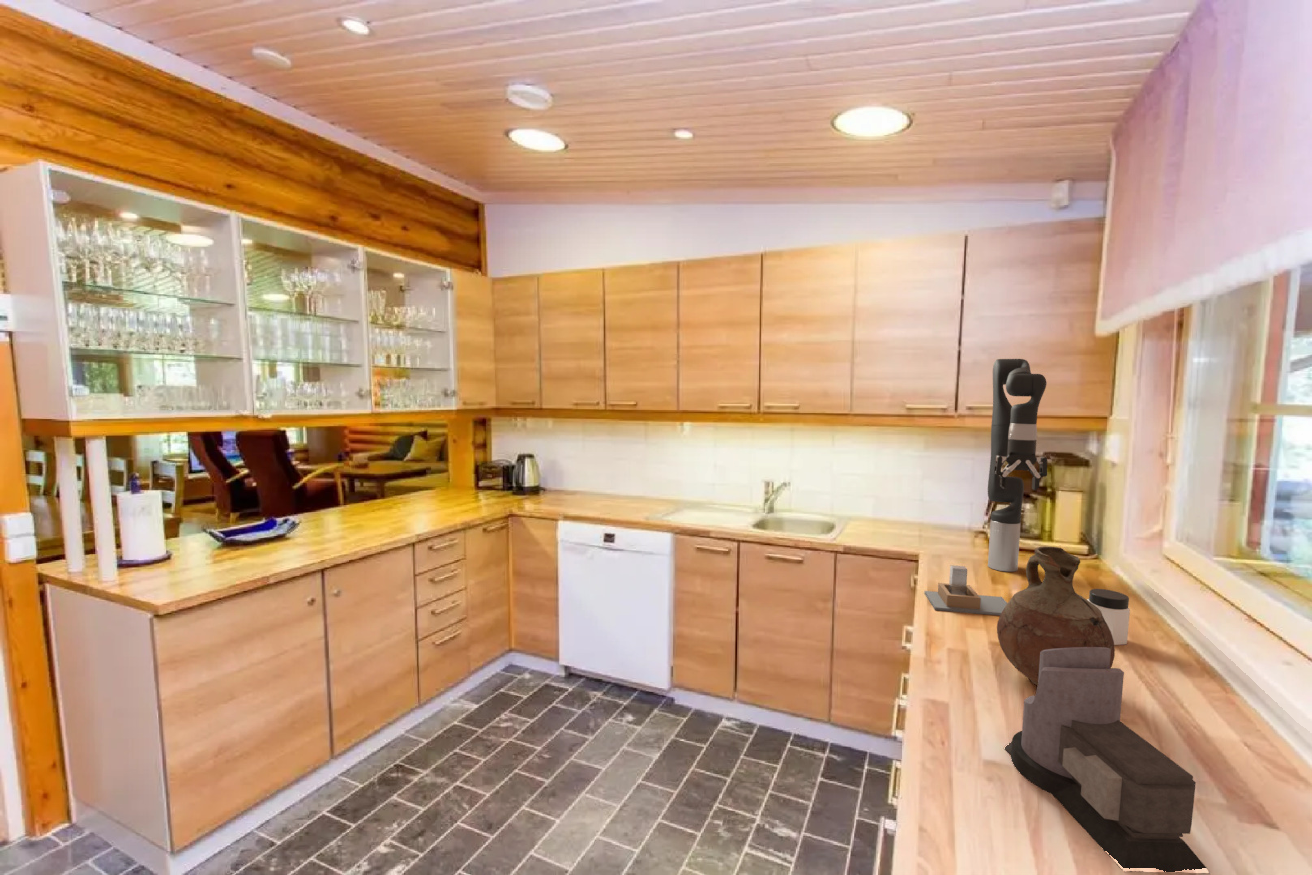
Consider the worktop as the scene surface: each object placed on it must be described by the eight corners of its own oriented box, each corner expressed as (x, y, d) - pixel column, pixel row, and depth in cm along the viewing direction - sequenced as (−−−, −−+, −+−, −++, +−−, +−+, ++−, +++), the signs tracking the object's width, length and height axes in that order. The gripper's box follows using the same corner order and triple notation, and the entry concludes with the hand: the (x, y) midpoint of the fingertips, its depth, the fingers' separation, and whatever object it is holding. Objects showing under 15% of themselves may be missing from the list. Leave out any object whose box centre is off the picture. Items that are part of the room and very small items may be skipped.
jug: (1056, 716, 116) (1066, 570, 113) (971, 666, 137) (978, 541, 134) (1136, 701, 122) (1149, 562, 119) (1043, 655, 143) (1052, 535, 140)
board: (924, 593, 184) (925, 580, 184) (1001, 599, 179) (1002, 586, 179) (934, 609, 171) (935, 596, 170) (1018, 617, 166) (1019, 602, 165)
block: (948, 596, 179) (950, 565, 178) (962, 598, 178) (964, 566, 177) (953, 604, 173) (955, 571, 172) (968, 605, 172) (970, 572, 171)
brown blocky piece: (988, 738, 109) (996, 612, 107) (1075, 739, 109) (1084, 613, 107) (1108, 872, 79) (1122, 701, 77) (1227, 874, 79) (1246, 703, 77)
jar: (1131, 640, 151) (1134, 595, 150) (1122, 649, 146) (1126, 602, 145) (1089, 628, 158) (1092, 585, 157) (1080, 636, 153) (1083, 592, 152)
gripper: (1042, 437, 184) (1039, 488, 185) (993, 436, 187) (990, 486, 189) (1053, 439, 177) (1049, 492, 178) (1001, 438, 180) (998, 490, 181)
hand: (1019, 489), depth 183 cm, fingers open, 8 cm apart
